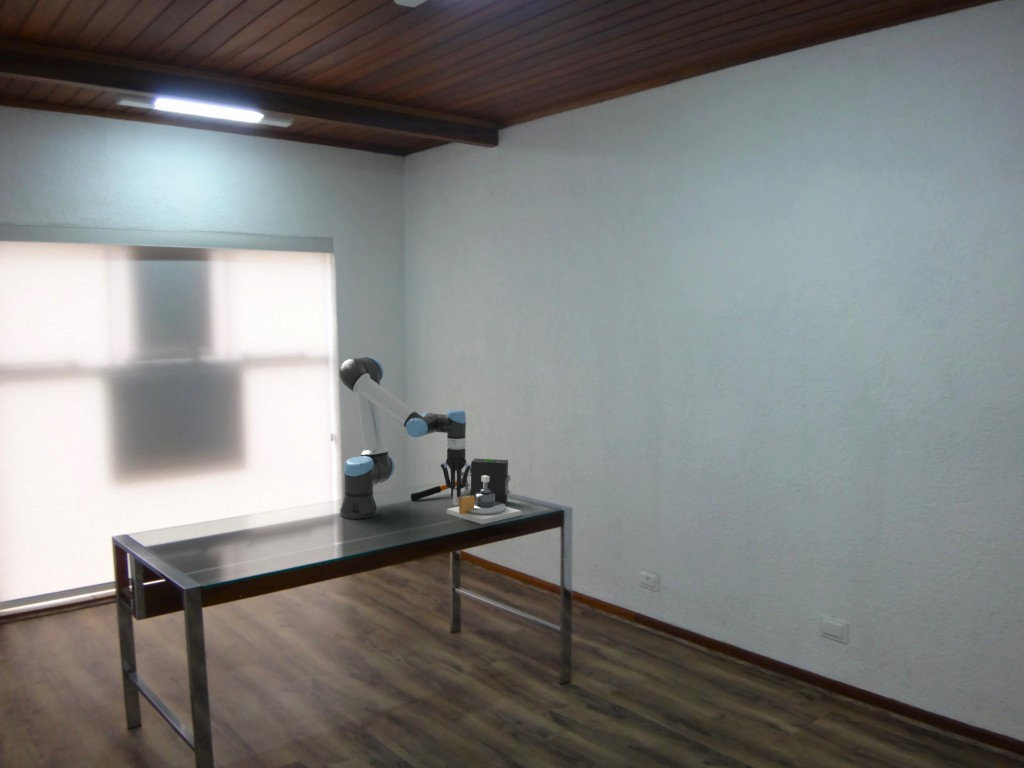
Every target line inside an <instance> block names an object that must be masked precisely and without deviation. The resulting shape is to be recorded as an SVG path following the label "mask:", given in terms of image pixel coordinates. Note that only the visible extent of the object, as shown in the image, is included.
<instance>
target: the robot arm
mask: <svg viewBox="0 0 1024 768" xmlns="http://www.w3.org/2000/svg"><path fill="white" fill-rule="evenodd" d="M338 375H339V379H340V381H341V382H342V384H343V385H344V386H345V387H346V388H347V389H348V390H350V391H351V392H353V393H354V394H356V397H357V404H358V413H359V420H360V422H359V423H360V431H361V437H362V446H363V450H362V452H360V455H359V456H354V457H350V458H348V459H347V460H346V461H345V463H344V469H343V473H344V497H343V500H342V503H341V506H340V509H339V510H340V511H339V516H341V518H345V519H350V520H353V519H354V520H361V519H362V518H364V519H369V517H370V518H374V517H376V516H377V515H378V507H377V503H376V501H375V498H374V486H375V485H378V484H381V483H385V482H386V481H387V480H389V479H391V477H392V476H393V474H394V472H395V467H396V466H395V461H394V460H393V458H392V457H391V456H390V455H389V449H387V448H386V447H385V444H384V437H383V429H382V420H381V411H382V412H384V413H385V414H386V415H388V416H390V417H391V418H392V419H394V421H396V422H398V423H399V424H400V425H401V426H403V427H405V430H406V433H407V434H408V435H409V436H410V437H412V438H421V437H423V436H426V435H430V434H434V433H444V434H447V435H446V441H447V442H446V444H447V446H446V447H447V449H446V460H445V462H443V463H441V464H440V468H441V469H442V472H443V476H444V480H445V485H446V486H447V487H449V488H448V489H450V496H451V497H452V505H453V506H457V505H459V498H460V497H462V496H461V495H462V491H461V490H462V489H464V487H465V485H466V481H467V480H468V477H469V474H470V469H471V467H472V466H471V464H470V463H468V462H467V460H466V439H467V438H466V433H467V432H466V431H467V429H466V427H467V419H466V412H465V410H463V409H451V410H450V409H449V410H448V411H447V414H442V413H432V412H429V413H428V412H427V413H426V412H424V413H422V414H419V413H418V412H417V411H415V410H414V409H412V408H411V407H410V406H408V405H407V404H406V403H405V402H403V401H402V400H400V399H399V398H398V397H396V396H395V395H394V394H393V393H391V392H389V391H388V390H387V389H385V388H384V387H383V386H381V380H382V378H383V377H384V368H383V365H382V363H381V362H380V361H379V360H377V359H376V358H374V357H368V356H364V357H355V358H354V357H353V358H348V359H346V360H344V361H343V362H342V364H341V365H340V367H339V370H338ZM380 410H381V411H380ZM469 464H470V465H469ZM448 468H449V469H450V470H449V469H448ZM463 468H464V469H465V470H464V471H465V472H464V476H463V480H462V484H461V477H462V475H461V472H462V471H463ZM448 470H449V471H450V473H449V471H448ZM449 474H450V475H449ZM455 481H457V486H455ZM373 516H374V517H373Z"/></svg>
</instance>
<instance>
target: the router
mask: <svg viewBox="0 0 1024 768" xmlns="http://www.w3.org/2000/svg"><path fill="white" fill-rule="evenodd" d="M468 464H469V465H471V466H472V467H471V469H470V470H469V473H468V477H470V486H469V488H468V489H469V492H468V494H469V495H468V496H471V495H473V496H475V500H476V493H477V492H481V489H483V482H482V481H481V476H483V475H486V476H490V478H489V482H487V489H490V492H493V493H495V501H498V502H501V503H504V504H505V505H506V504H507V503H508V495H509V494H510V493H511V490H509V482H510V480H512V479H511V475H510V474H509V459H493V458H473V460H472V461H471V463H468Z"/></svg>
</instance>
